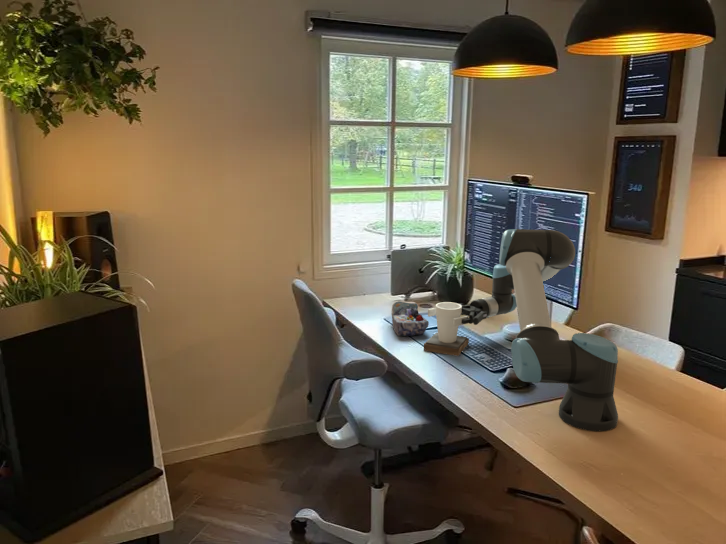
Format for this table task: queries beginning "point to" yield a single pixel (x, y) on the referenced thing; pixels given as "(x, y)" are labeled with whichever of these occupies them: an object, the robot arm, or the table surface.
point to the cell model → (408, 319)
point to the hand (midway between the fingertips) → (440, 317)
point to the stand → (446, 345)
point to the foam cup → (447, 320)
